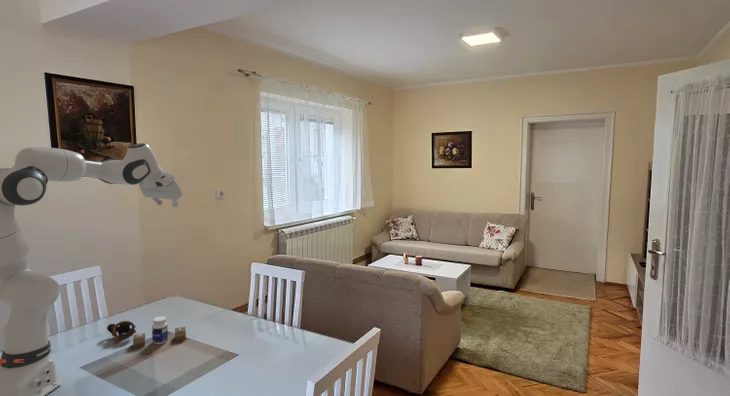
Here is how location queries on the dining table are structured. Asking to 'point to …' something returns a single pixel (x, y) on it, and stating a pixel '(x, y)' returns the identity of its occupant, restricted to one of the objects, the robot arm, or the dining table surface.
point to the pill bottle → (159, 330)
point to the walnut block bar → (180, 333)
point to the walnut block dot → (139, 340)
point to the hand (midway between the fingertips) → (168, 205)
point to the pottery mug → (121, 330)
